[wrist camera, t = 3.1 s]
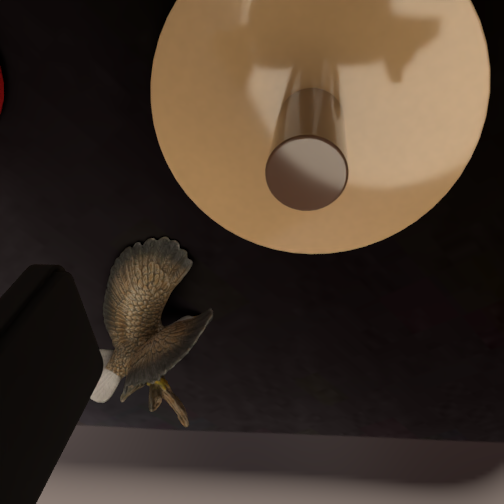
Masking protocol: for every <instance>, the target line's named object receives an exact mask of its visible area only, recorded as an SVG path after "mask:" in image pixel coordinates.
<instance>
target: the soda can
mask: <svg viewBox="0 0 504 504" xmlns="http://www.w3.org/2000/svg"><path fill="white" fill-rule="evenodd" d="M3 101H4V82H3V77H2V72H1V67H0V114H1V110H2V105H3Z"/></svg>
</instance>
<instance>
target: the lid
mask: <svg viewBox="0 0 504 504" xmlns="http://www.w3.org/2000/svg"><path fill="white" fill-rule="evenodd" d="M489 96H490V61H489V54H488V46H487V42H486V38H485V35H484V31H483V28H482V24H481V21H480V18H479V16H478V14H477V12H476V10H475V8H474V6H473V3H472V1H471V0H176V2H175V4H174V6H173V7H172V9H171V11H170V13H169V14H168V16H167V19H166V21H165V24H164V26H163V29H162V31H161V34H160V36H159V39H158V43H157V47H156V51H155V55H154V59H153V66H152V74H151V109H152V116H153V123H154V127H155V131H156V135H157V139H158V142H159V145H160V148H161V150H162V153H163V155H164V158H165V160H166V162H167V164H168V166H169V168H170V170H171V172H172V173H173V175H174V177H175V179H176V180H177V182H178V183H179V184H180V186H181V187H182V189H183V190H184V191H185V193H186V194H187V195H188V196H189V197H190V199H191V200H192V201H193V202H194V203H195V204H196V205H197V206H198V207H199V208H200V209H201V210H202V211H203V212H204V213H205V214H207V215H208V216H209V217H210V218H211V219H212V220H214V221H215V222H217V223H218V224H219V225H221V226H222V227H224V228H225V229H227V230H228V231H230V232H232V233H234V234H236V235H238V236H239V237H241V238H243V239H246V240H248V241H251V242H253V243H256V244H258V245H261V246H265V247H268V248H271V249H275V250H280V251H286V252H291V253H303V254H327V253H336V252H343V251H349V250H353V249H357V248H361V247H364V246H367V245H370V244H373V243H376V242H378V241H381V240H383V239H386V238H388V237H390V236H392V235H394V234H396V233H398V232H400V231H401V230H403V229H404V228H406V227H408V226H409V225H411V224H412V223H414V222H415V221H417V220H418V219H419V218H421V217H422V216H423V215H424V214H426V213H427V212H428V211H429V210H430V209H432V208H433V207H434V206H435V205H436V204H437V203H438V202H439V201H440V200H441V199H442V198H443V197H444V196H445V195H446V194H447V192H448V191H449V190H450V188H451V187H452V186H453V185H454V183H455V182H456V181H457V179H458V178H459V177H460V175H461V174H462V172H463V170H464V169H465V167H466V165H467V164H468V162H469V160H470V159H471V157H472V154H473V152H474V150H475V148H476V145H477V143H478V141H479V138H480V136H481V132H482V129H483V126H484V122H485V119H486V115H487V109H488V103H489Z"/></svg>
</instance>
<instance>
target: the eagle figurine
mask: <svg viewBox="0 0 504 504" xmlns="http://www.w3.org/2000/svg"><path fill="white" fill-rule="evenodd" d="M192 264H193V262H192V260H190V259H188V258H187V251H186V250H184V249H180V245H179V243H178V242H177V241H176V240H172V241H171V240H170V239H169V238H168V237H162V238H160V239H159V240H155V238H150V239H148V240H147V241H146V242H145V243H144V245H141V243H140V242H137V243H135V245H134V246H133V248H131V247H127V248H126V249H125V250H124V251H123V252H122V253H121V254H120V257H118V258H116V260H115V264H114V265H113V266H112V268H111V274H110V276H109V280H108V282H107V287H108V289H106V295H105V298H104V299H105V302H104V303H103V316H104V324H105V325H106V330H107V331H108V332H109V335H110V338H111V339H112V340H113V341H112V344H113V346H114V347H115V350H110V349H109V350H108V349H99V350H100V352H101V355H102V358H103V364H104V366H103V372H102V375H101V378H100V380H99V382H98V383H97V385H96V387H95V389H94V391H93V393H92V395H91V397H90V398H91V399H92V400H94V401H96V402H99V403H100V402H102V403H104V402H106V401H107V400H108V399H109V398H110V397H111V396H112V395H113V393H114V392H115V390H116V388H117V386H118V384H119V382H120V380H121V379H122V378H123V377H124V376H127V377H126V382H125V385H124V390H123V393H122V395H121V396H120V401H121V402H124V401H125V400H126V398H127V397H128V396H129V395H130V394H132V393H133V392H134V391H136V390H137V389H139V388H141V387H143V386H144V385H145V384H147V385H148V386H150V391H149V410H150V411H151V412H153V411H155V410H156V409H157V408H158V407H159V405H160V403H161V401H162V398H164V399H165V400H166V401H167V402H168V403H169V405H170V406H171V407H172V408H173V409H174V411H175V412H176V413H177V415H178V418H179V420H180V422H181V424H182V425H183V426H185V427H188V426H189V422H188V418H187V413H186V411H185V408H184V406H183V404H182V402H181V401H180V400H179V398H178V397H177V396H176V395H175V394H174V393H173V392H172V390H171V388H170V386H169V385H168V383H167V381H166V380H165V378H164V375H165V374H166V373H167V371H168V370H171V369H172V368H173V367H174V366H175V365H176V364H177V363H178V362H179V361H180V360H181V359H182V358H183V357H185V356H186V355H187V354H188V353H189V351H190V350H191V348H192V347H193V346H194V345H195V344H196V342H197V341H198V339H199V336H200V335H201V334H202V333H203V332H204V330H205V328H206V326H207V325H208V324H209V322H210V321H211V320H212V319H213V310H212V308H210V309H208V310H207V311H205V312H204V313H202V314H200V315H198V316H190V315H187V316H184V317H182V318H181V319H179V320H177V321H176V322H174V323H173V324H170V325H167V326H163V325H162V322H161V314H162V311H163V309H164V307H165V305H166V302H167V301H168V298H169V296H170V294H171V292H172V291H173V289H174V288H175V287H176V286H177V285H178V284H179V282H181V280H182V279H183V277H184V276H185V275H186V274H187V273H188V271H189V270H190V268H191V266H192Z"/></svg>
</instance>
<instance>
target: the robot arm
mask: <svg viewBox="0 0 504 504" xmlns="http://www.w3.org/2000/svg"><path fill="white" fill-rule="evenodd" d="M103 366H104V364H103V358H102V355H101V352H100V350H99V347H98V344H97V342H96V339H95V336H94V333H93V331H92V328H91V325H90V323H89V320H88V317H87V314H86V312H85V309H84V306H83V304H82V301H81V298H80V295H79V293H78V290H77V287H76V284H75V282H74V279H73V277H72V275H71V274H70V273H69V272H66V271H65V269H64V268H63V267H62V266H60V265H37V264H34V265H31V266H29V267H28V268H27V269H26V270H25V271H24V272H23V273H22V274H21V276H20V277H19V278H18V279H17V280H16V281H15V282H14V283H13V284H12V286H11V287H10V288H9V289H8V290H7V291H6V292H5V293H4V294H3V296H2V297H1V298H0V504H36V502H37V500H38V498H39V497H40V495H41V493H42V491H43V489H44V487H45V485H46V483H47V481H48V479H49V477H50V475H51V473H52V471H53V469H54V467H55V465H56V463H57V461H58V459H59V458H60V456H61V454H62V452H63V450H64V448H65V446H66V444H67V442H68V440H69V438H70V436H71V434H72V432H73V430H74V428H75V426H76V424H77V422H78V421H79V419H80V417H81V415H82V413H83V411H84V409H85V407H86V405H87V403H88V401H89V399H90V397H91V395H92V393H93V391H94V389H95V387H96V385H97V383H98V382H99V380H100V378H101V375H102V372H103Z"/></svg>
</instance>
